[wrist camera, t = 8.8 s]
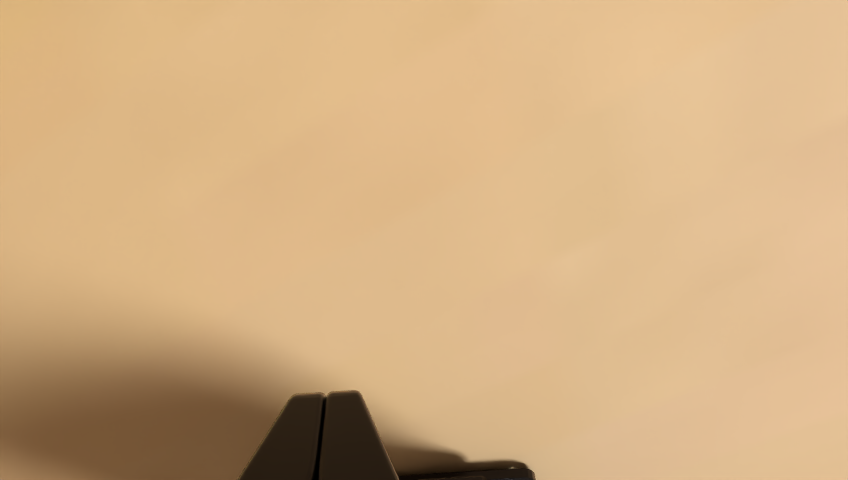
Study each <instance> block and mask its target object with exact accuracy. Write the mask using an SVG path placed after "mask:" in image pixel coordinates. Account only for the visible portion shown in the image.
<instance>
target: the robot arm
mask: <svg viewBox="0 0 848 480" xmlns="http://www.w3.org/2000/svg"><path fill="white" fill-rule="evenodd" d="M238 480H536V479H535V474H534V472H533V471H532V470H529V469H524V468H520V469H504V470H489V471H473V472H458V473H442V474H427V475H411V476H397V473H396V471H395V469H394V467H393V464H392V462H391V460H390V458H389V455H388V453H387V451H386V449H385V446H384V444H383V442H382V440H381V437H380V435H379V433H378V431H377V428H376V426H375V424H374V422H373V419H372V417H371V415H370V413H369V410H368V408H367V406H366V404H365V401H364V399H363V397H362V395H361V393H360V392H359V391H356V390H351V391H334V392H330V393H328V395H327V397H326V396H325V394H323V393H320V392H318V393H302V394H295V395H293V396H292V397H291V398H290V399H289V400H288V402H287V403H286V405H285V406H284V408H283V410H282V411H281V413H280V414H279V416H278V417H277V419H276V421H275V422H274V424H273V425H272V427H271V428H270V430H269V431H268V433H267V435H266V436H265V438H264V439H263V441H262V442H261V444H260V445H259V447H258V449H257V450H256V452H255V453H254V455H253V456H252V458H251V459H250V461H249V463H248V464H247V466H246V467H245V469H244V470H243V472H242V474H241V475H240V477H239V478H238Z"/></svg>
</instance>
